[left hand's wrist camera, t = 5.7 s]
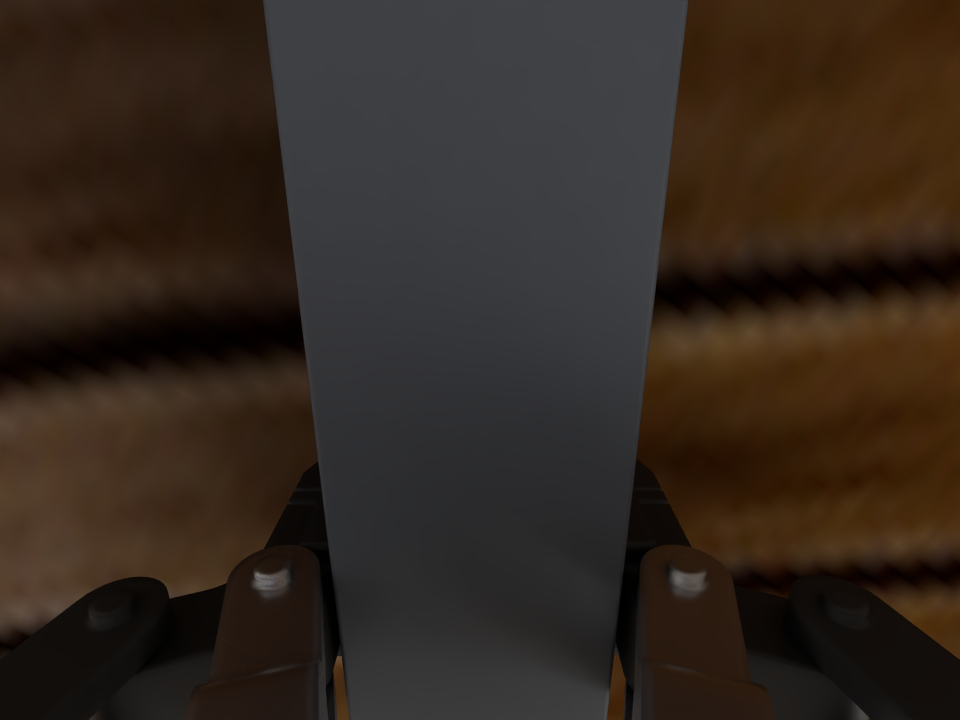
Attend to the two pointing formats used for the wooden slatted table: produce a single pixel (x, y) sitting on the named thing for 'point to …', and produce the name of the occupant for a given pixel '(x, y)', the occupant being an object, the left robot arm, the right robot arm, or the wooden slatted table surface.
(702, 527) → the wooden slatted table surface
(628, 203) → the beam
